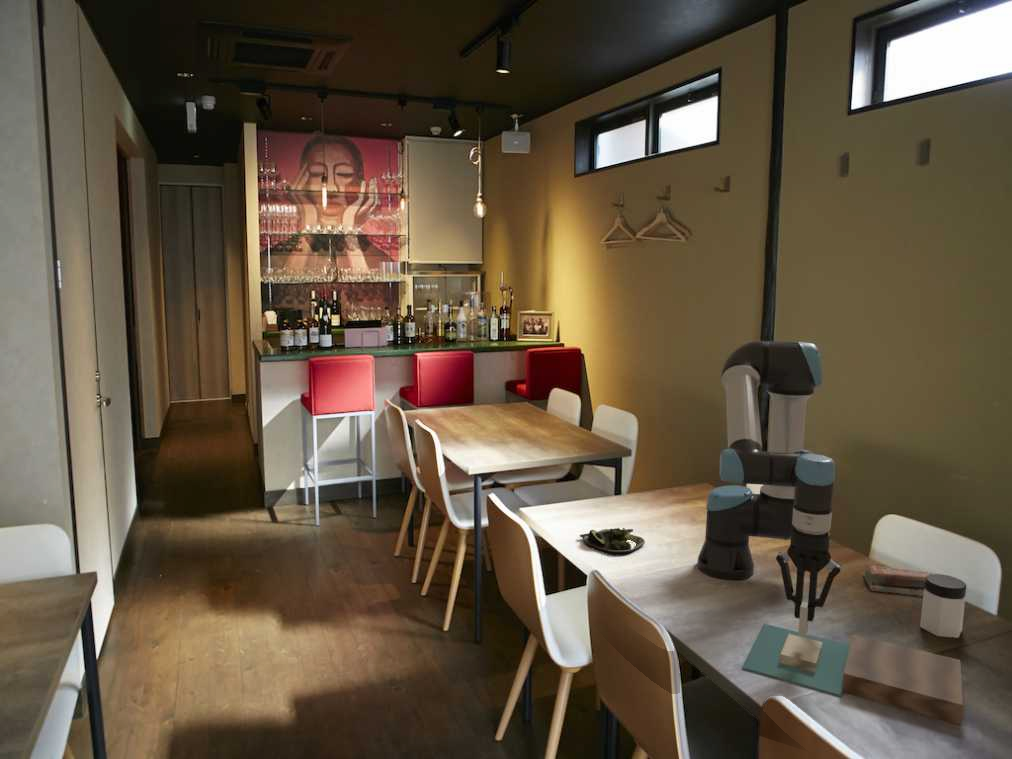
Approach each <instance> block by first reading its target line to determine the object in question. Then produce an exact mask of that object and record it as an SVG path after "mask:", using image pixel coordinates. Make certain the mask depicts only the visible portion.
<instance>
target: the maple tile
mask: <svg viewBox="0 0 1012 759" xmlns="http://www.w3.org/2000/svg"><path fill="white" fill-rule="evenodd" d="M822 643H823V642H820V641H816V640H812V639H808V638H804V637H800V636H795V635H791V634H788V637H787V639H786V642H785V644H784V647H783V649H782V652H781V655H780V663H783V664H786V665H790V666H794V667H797V668H801V669H805V670H809V671H812V672H816V669H817V665H818V662H819V659H820V655H821V652H822Z"/></svg>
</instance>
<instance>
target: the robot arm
mask: <svg viewBox="0 0 1012 759" xmlns="http://www.w3.org/2000/svg"><path fill="white" fill-rule="evenodd" d="M822 366H823V365H822V359H821V355H820V351H819V348H818V347H817V345H816V344H814V343H812V342H806V341H805V342H804V341H791V340H790V341H788V340H787V341H783V340H782V341H781V340H779V341H776V340H775V341H773V340H771V341H770V340H769V341H768V340H767V341H766V340H765V341H764V340H753V341H749V342H746V343H744V344H741V345H740V346H739V347H737V348H736V349H734V350H733V351H732V352H731V353H730V354H729V356H728V357H727V358H726V360H725V361H724V364H723V366H722V368H721V374H720V375H721V385H722V387H723V388H724V389H725V397H726V400H725V401H726V425H727V426H726V428H727V448H723V449H722V450H721V451H720V453H719V454H720V456H719V479H721V481H723V482H727V483H734V484H733V485H722V486H718V487H715V488H713V489H712V490H710V491H709V492H708V494H707V501H706V503H707V504H706V506H705V509H706V523H705V538H704V542H703V544H702V546H701V550H700V551H699V554H698V556H697V569H698V570H699V571H701V572H702V573H704V574H706V575H707V576H711V577H713V578H718V579H723V580H731V581H732V580H733V581H734V580H744V579H749V578H750V577H752V576H753V575H754V573H755V572H754V571H755V570H754V569H755V564H754V559H753V556H752V552H751V550H750V545H749V542H750V541H749V540H750V537H757V538H768V539H775V540H784V541H789V540H790V545H789V546H788V549H787V551H784V552H781V551H779V552H778V553H777V555H776V557H775V559H776V562H777V563H778V565H779V567H780V571H781V577H782V584H783V587H784V588H783V589H784V594H785V597H786V600H788V601H791V602H793V603H794V614H793V615H794V618H795V619H799V622H798V630H797V632H798V635H801V636H805V637H806V634H808V632H809V631H808V628H809V622H813V621H814V620H815V611H816V608H817V607H818V608H823V607H824V605H825V602H826V599H827V597H828V595H829V593H830V590H831V588H832V584H833V583H834V582H833V581H834V580H835V577H837V576H838V575H839V573H841V571H842V570H841V569H842V564H841V563H837V562H835V561H834V560H833V559H832V556H831V553H830V540H831V533H830V531H831V529H832V528H831V527H832V519H833V518H832V516H833V501H834V499H833V498H834V488H835V480H836V477H837V476H836V475H837V474H836V462H835V460H833V459H832V457H829V456H827V455H822V454H817V453H816V454H815V453H813V452H812V451H810V450H806V449H804V441H805V429H806V426H805V425H806V414H807V401H808V399H810V398H811V397H812V396H813V395H814V393H815V392H814V390H815V388H816V389H817V388H820V387H821V386H822V380H823V367H822ZM759 386H766V392H767V393H768V394H769V396H770V397H771V398H772V399H771V412H770V413H771V414H770V428H769V442H768V451H767V450H766V451H765V450H764V451H763V442H762V431H761V430H762V429H761V419H760V408H759V398H758V397H759V396H758V387H759ZM735 484H739V485H735ZM740 484H744V485H745V484H747V485H761V486H760V489H759V493H753V491H752V489H751V488H750V487H747V486H743V485H740ZM790 560H791V561H792V563H793V565H794V566H795V568H796V583H795V584H796V585H795V591H794V586H793V585H794V584H793V581H792V575H791V570H790V566H789V561H790ZM827 565H828V568H827V571H828V573H827V576H826V580H825V582H824V585H823V587H822V590H821V591H820V595H819V598H817V591H818V590H817V589H818V587H817V586H818V575H819V572H820V571H822V570H823V569H824V568H825V567H826V566H827ZM806 572H808V573H809V584H808V585H809V586H808V599H807V601H803V599H804V588H805V586H804V585H805V574H806Z"/></svg>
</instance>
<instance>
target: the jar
mask: <svg viewBox="0 0 1012 759" xmlns="http://www.w3.org/2000/svg"><path fill="white" fill-rule="evenodd" d="M966 592H967V583H966V582H964V581H963V580H961V579H960V578H957V577H954V576H951V575H947V574H941V573H932V574H930V575H928V576H926V580H925V589H924V593H923V597H922V603H921V604H922V607H921V616H920V624H919V626H920V628H921V629H923V630H925V631H927V632H928V633H931V634H933V635H935V636H936V637H943V638H952V637H953V639H955V638H956V639H959V638H960V636H961V633H962V632H963V622H964V615H965V607H966V606H965V605H966V598H967V597H966V595H967V593H966Z"/></svg>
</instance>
